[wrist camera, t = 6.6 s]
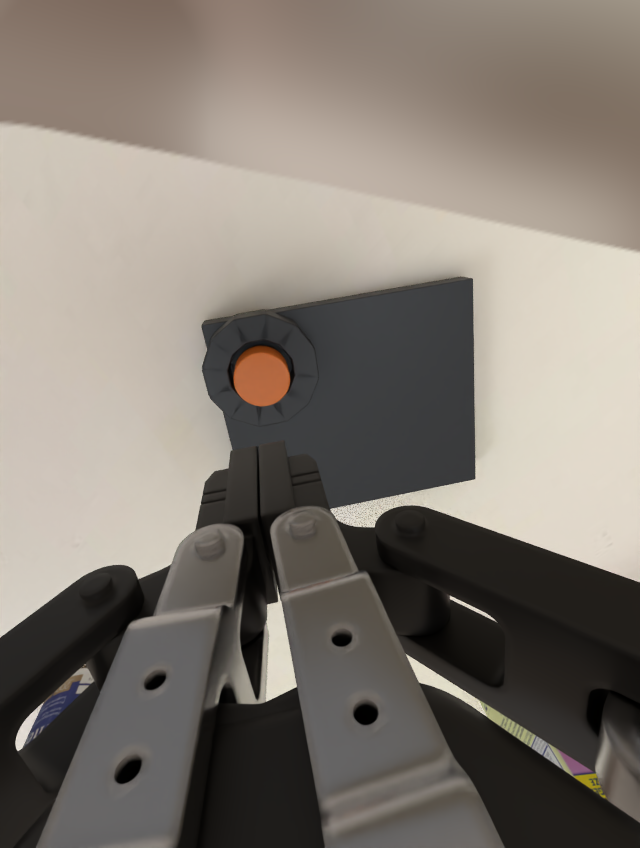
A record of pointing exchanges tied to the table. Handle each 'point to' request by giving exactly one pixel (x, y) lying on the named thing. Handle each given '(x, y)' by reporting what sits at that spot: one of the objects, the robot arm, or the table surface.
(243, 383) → the button
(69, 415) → the table surface
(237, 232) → the table surface
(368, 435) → the scale
